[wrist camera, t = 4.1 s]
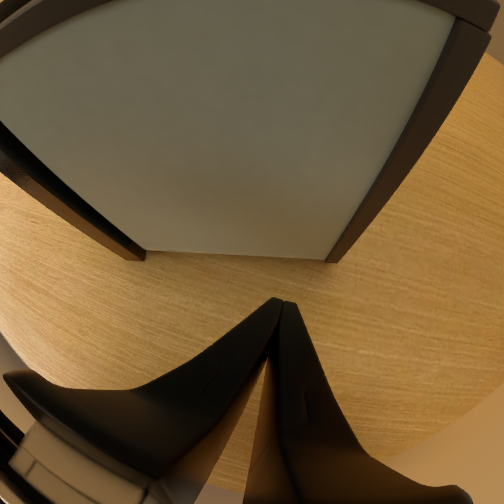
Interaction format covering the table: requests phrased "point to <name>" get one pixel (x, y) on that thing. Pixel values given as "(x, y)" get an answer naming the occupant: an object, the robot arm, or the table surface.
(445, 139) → the table surface
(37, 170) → the shower stall
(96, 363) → the table surface
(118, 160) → the shower door
